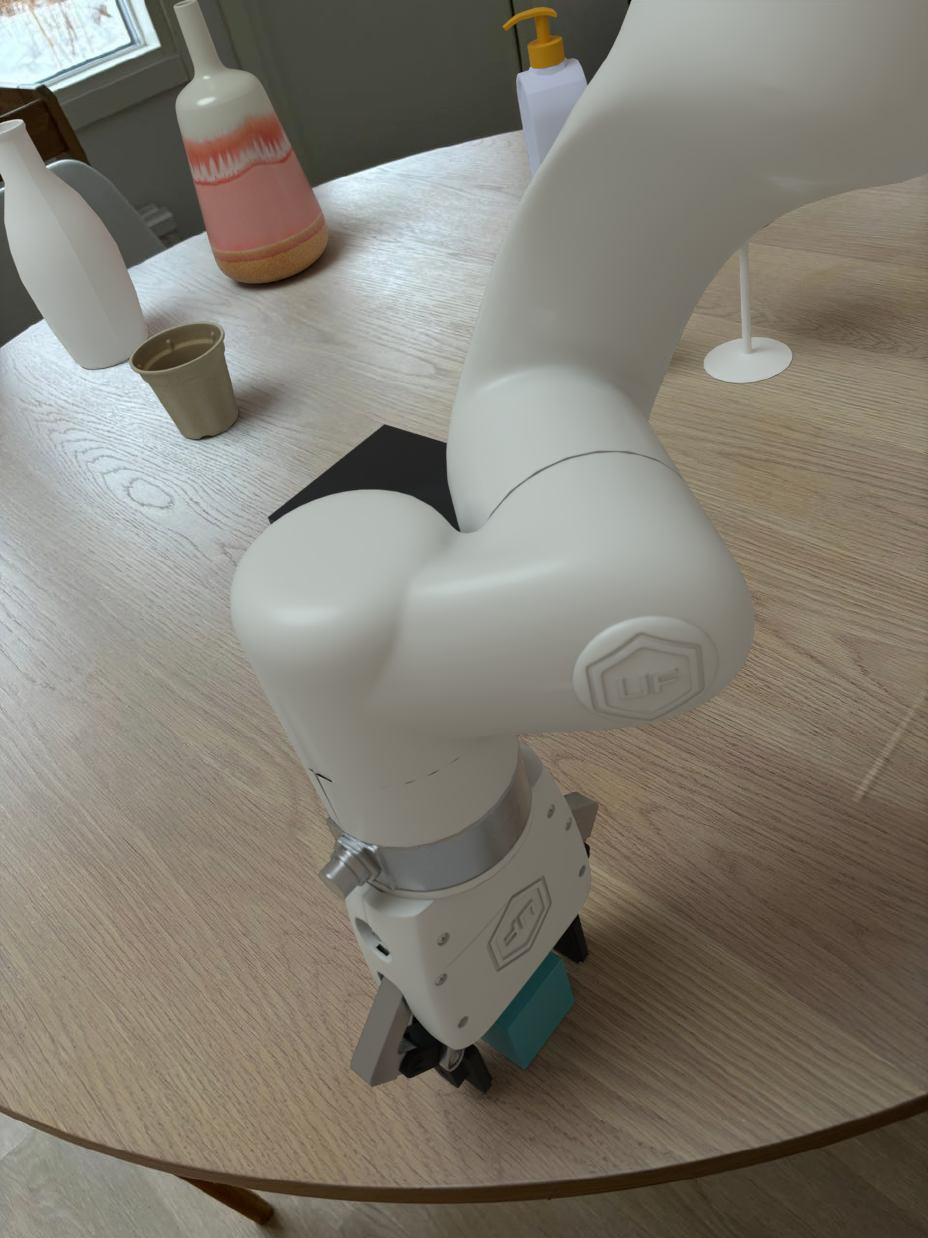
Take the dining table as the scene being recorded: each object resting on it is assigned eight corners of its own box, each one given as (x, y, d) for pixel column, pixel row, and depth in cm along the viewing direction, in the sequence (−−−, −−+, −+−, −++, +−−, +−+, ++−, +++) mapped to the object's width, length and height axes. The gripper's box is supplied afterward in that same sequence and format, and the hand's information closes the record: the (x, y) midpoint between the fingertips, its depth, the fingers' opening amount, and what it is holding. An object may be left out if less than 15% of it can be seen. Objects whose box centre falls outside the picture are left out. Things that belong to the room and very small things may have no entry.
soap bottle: (533, 227, 119) (494, 9, 104) (591, 211, 119) (561, -10, 103) (547, 257, 112) (509, 29, 97) (609, 240, 112) (580, 9, 97)
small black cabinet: (550, 556, 75) (531, 468, 70) (441, 665, 70) (411, 578, 64) (410, 505, 84) (384, 423, 79) (303, 599, 78) (267, 517, 73)
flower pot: (193, 397, 107) (159, 322, 101) (271, 395, 103) (240, 317, 97) (149, 449, 100) (110, 373, 95) (229, 449, 97) (194, 370, 91)
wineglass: (705, 336, 93) (690, 108, 80) (804, 334, 90) (806, 95, 76) (689, 384, 88) (670, 149, 75) (793, 383, 85) (794, 137, 71)
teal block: (576, 1001, 50) (562, 958, 47) (525, 1071, 48) (507, 1031, 46) (511, 958, 53) (494, 914, 50) (460, 1022, 51) (439, 981, 48)
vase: (204, 297, 125) (95, 34, 105) (256, 244, 134) (164, -8, 115) (306, 291, 120) (211, 12, 100) (352, 236, 129) (273, -30, 109)
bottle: (56, 383, 116) (-69, 158, 99) (82, 337, 125) (-30, 122, 108) (147, 364, 115) (36, 132, 98) (167, 318, 123) (67, 97, 106)
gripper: (338, 1033, 32) (459, 1213, 44) (640, 678, 40) (674, 911, 52) (198, 916, 37) (343, 1108, 48) (496, 617, 45) (558, 845, 56)
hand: (514, 1005), depth 50 cm, fingers open, 7 cm apart
